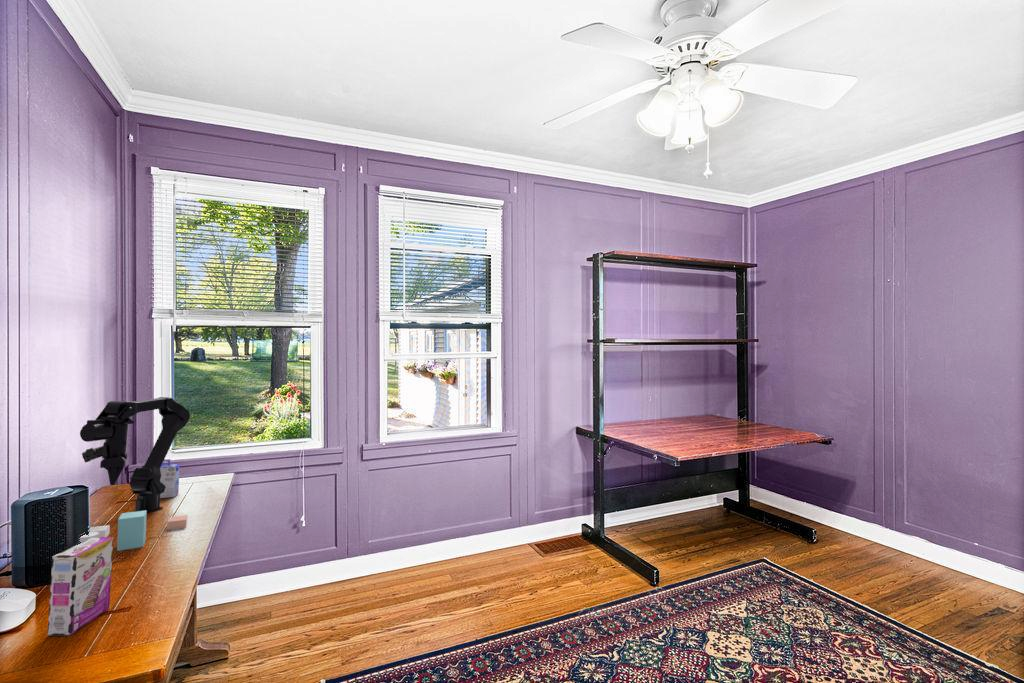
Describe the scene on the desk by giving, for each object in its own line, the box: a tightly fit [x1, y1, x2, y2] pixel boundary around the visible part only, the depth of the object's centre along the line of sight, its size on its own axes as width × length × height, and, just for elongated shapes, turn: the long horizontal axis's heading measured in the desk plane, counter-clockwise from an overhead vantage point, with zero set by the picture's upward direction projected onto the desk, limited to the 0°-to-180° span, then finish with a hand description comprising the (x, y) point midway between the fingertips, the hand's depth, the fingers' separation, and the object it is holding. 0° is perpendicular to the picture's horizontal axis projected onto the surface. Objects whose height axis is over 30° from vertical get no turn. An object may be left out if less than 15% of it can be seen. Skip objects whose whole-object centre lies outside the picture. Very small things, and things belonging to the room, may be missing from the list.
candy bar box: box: [47, 536, 114, 637], centre depth 107 cm, size 11×5×16 cm, turn 5°
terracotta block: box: [166, 514, 188, 531], centre depth 161 cm, size 5×5×4 cm
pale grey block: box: [90, 524, 111, 537], centre depth 150 cm, size 5×5×4 cm
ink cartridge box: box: [160, 458, 180, 499], centre depth 197 cm, size 10×6×14 cm, turn 112°
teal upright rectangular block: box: [116, 510, 148, 552], centre depth 145 cm, size 6×6×9 cm
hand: (112, 484), depth 165 cm, fingers closed
